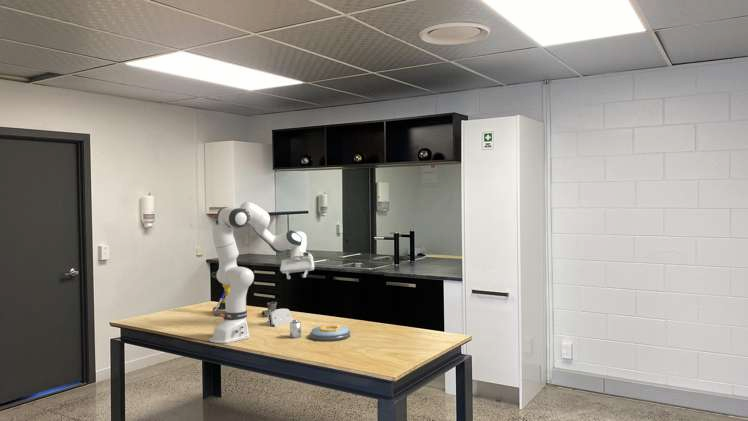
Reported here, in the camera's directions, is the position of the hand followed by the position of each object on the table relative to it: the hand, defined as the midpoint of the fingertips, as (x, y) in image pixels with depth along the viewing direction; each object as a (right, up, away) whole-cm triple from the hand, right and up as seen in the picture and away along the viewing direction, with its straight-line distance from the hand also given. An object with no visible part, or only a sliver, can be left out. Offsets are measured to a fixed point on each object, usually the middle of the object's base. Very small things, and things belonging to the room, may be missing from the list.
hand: (296, 278), depth 319 cm
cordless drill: (-55, -30, +50) cm, 80 cm away
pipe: (-23, -30, +39) cm, 54 cm away
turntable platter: (+21, -28, -19) cm, 40 cm away
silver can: (+2, -30, -19) cm, 36 cm away
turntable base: (+21, -30, -19) cm, 41 cm away
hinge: (-12, -30, +15) cm, 36 cm away
